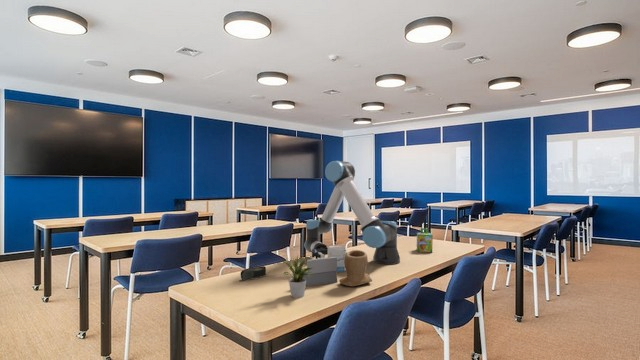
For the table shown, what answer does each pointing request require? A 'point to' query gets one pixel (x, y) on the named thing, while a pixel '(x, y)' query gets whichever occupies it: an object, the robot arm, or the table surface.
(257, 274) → the mobile phone
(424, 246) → the green juice carton
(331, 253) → the ink box
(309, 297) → the table surface
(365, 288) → the table surface
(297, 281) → the house plant
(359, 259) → the stone cup
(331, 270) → the step
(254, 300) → the table surface
